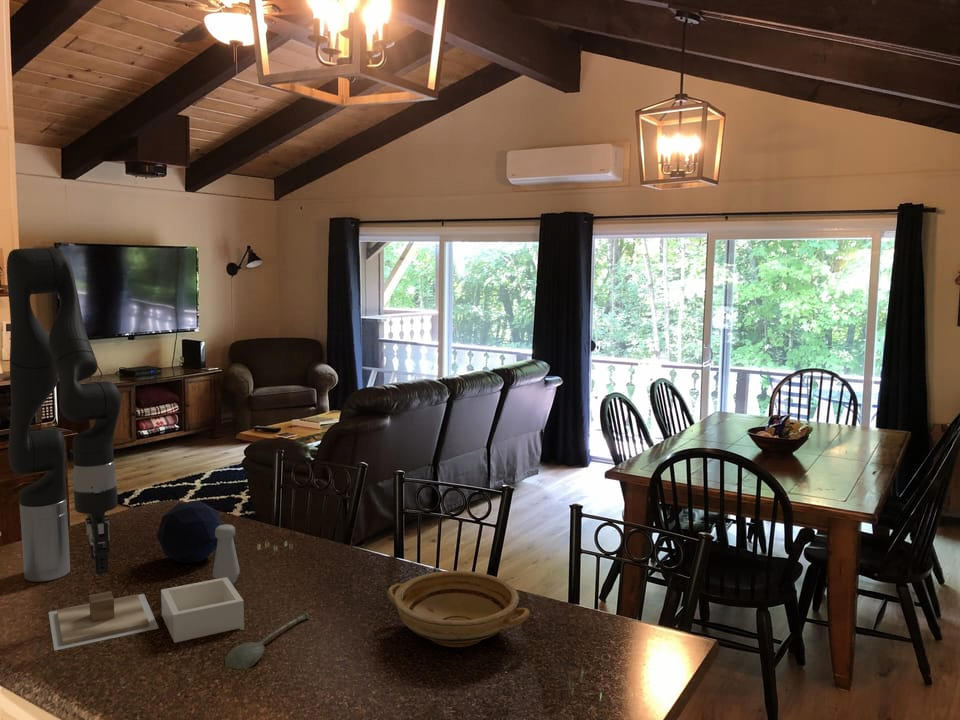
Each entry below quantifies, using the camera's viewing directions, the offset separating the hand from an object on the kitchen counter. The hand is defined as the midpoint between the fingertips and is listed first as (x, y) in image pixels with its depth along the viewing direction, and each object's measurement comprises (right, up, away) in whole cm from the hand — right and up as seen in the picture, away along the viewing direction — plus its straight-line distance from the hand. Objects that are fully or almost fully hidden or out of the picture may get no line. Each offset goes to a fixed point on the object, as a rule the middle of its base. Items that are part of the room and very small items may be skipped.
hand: (99, 565), depth 157 cm
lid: (0, -11, +2) cm, 11 cm away
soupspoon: (+35, -14, -5) cm, 38 cm away
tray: (0, -12, +2) cm, 12 cm away
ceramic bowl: (+70, -13, 0) cm, 71 cm away
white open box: (+20, -12, +2) cm, 23 cm away
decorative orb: (+6, -8, +34) cm, 36 cm away
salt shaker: (+18, -10, +22) cm, 30 cm away
